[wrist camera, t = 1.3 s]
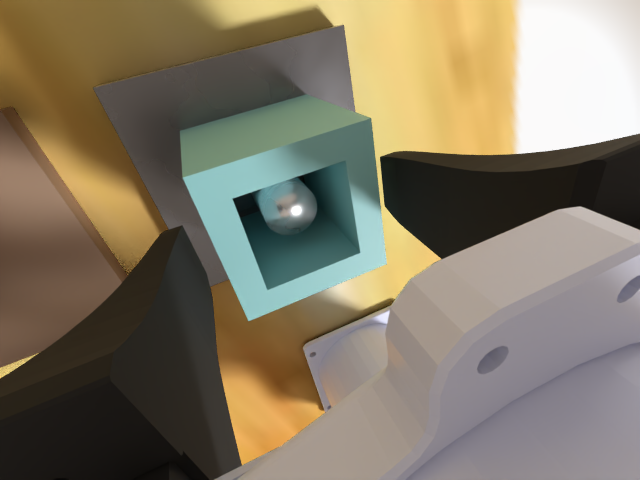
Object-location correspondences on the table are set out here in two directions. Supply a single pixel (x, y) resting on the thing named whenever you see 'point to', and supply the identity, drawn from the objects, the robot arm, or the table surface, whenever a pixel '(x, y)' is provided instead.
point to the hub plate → (44, 250)
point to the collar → (277, 166)
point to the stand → (217, 103)
